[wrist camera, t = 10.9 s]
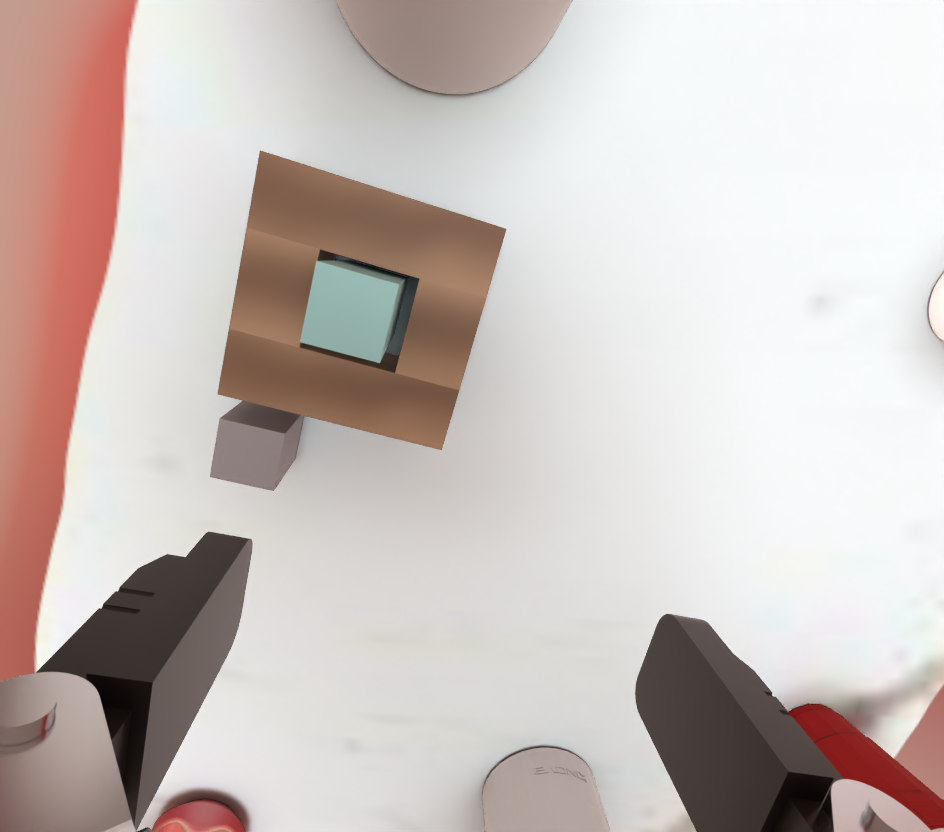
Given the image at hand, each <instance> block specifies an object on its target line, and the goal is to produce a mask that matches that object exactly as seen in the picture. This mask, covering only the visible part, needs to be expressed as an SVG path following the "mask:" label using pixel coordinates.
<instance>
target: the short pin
mask: <svg viewBox="0 0 944 832" xmlns="http://www.w3.org/2000/svg"><path fill="white" fill-rule="evenodd" d="M303 419H304V416H303V415H299V414H295V413H291V412H287V411H283V410H279V409H275V408H271V407H267V406H263V405H259V404H255V403H251V402H247V401H242V402H241V403H240V404H238V405H237V406H236V407H234V408H233V409H232V410H230V411H229V412H228V413H226V414H225V415H224V416H222V417H221V418H220V420H219V426H218V432H217V438H216V444H215V450H214V456H213V462H212V468H211V474H210V477H213V478H217V479H222V480H226V481H231V482H236V483H240V484H245V485H249V486H254V487H258V488H263V489H268V490H272V491H274V490H275V488H276V487H277V485H278V484H279V482H280V481H281V479H282V478H283V476H284V475H285V473H286V472H287V470H288V469H289V467H290V466H291V464H292V463H293V461H294V460H295V457H296V453H297V448H298V443H299V438H300V434H301V429H302V424H303Z"/></svg>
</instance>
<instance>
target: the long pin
mask: <svg viewBox="0 0 944 832" xmlns="http://www.w3.org/2000/svg"><path fill="white" fill-rule="evenodd" d="M407 280H408V277H407V276H403V275H400V274H396V273H393V272H389V271H386V270H382V269H379V268H375V267H372V266H369V265H365V264H362V263H358V262H355V261H351V260H344V261H316V265H315V270H314V275H313V280H312V285H311V290H310V295H309V300H308V305H307V310H306V315H305V320H304V324H303V329H302V334H301V339H300V342H301V343H305V344H309V345H313V346H317V347H320V348H324V349H328V350H332V351H336V352H339V353H343V354H347V355H351V356H355V357H358V358H362V359H366V360H370V361H374V362H377V363H380V362H381V360H382V358H383V356H384V353H385V351H386V349H387V347H388V345H389V343H390V341H391V339H392V337H393V335H394V332H395V328H396V324H397V320H398V316H399V312H400V308H401V304H402V300H403V296H404V292H405V288H406V284H407Z"/></svg>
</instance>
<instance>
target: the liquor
mask: <svg viewBox="0 0 944 832" xmlns="http://www.w3.org/2000/svg"><path fill="white" fill-rule="evenodd" d="M152 831H153V832H245V829H244V827H243V825H242V823H241V822H240V821H239V819H238V818H237V817H236V815H235V814H234V813H233V812H232V811H231V809H230V808H229V807H227V806H226V805H224V804H223V803H221V802H218V801H215V800H209V799H200V800H195V801H192V802H189V803H186V804H183V805H180V806H177V807H174V808H172V809H170V810H168V811H167V812H165V813H164V814H162V815H161V816H160V817H159V818H158V819H157V821H156V822H155V824H154V826H153V829H152Z"/></svg>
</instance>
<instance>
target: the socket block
mask: <svg viewBox="0 0 944 832" xmlns="http://www.w3.org/2000/svg"><path fill="white" fill-rule="evenodd" d="M505 232H506V229H505V228H502V227H498V226H495V225H492V224H489V223H486V222H483V221H480V220H476V219H473V218H470V217H467V216H464V215H461V214H458V213H454V212H451V211H448V210H445V209H442V208H439V207H436V206H433V205H429V204H426V203H423V202H420V201H417V200H414V199H411V198H407V197H404V196H401V195H398V194H395V193H392V192H389V191H385V190H382V189H379V188H376V187H373V186H370V185H367V184H363V183H360V182H357V181H354V180H351V179H348V178H345V177H342V176H338V175H335V174H332V173H329V172H326V171H323V170H320V169H316V168H313V167H310V166H307V165H304V164H301V163H298V162H294V161H291V160H288V159H285V158H282V157H279V156H276V155H273V154H269V153H266V152H263V151H260V154H259V160H258V165H257V171H256V177H255V183H254V188H253V194H252V200H251V206H250V211H249V217H248V223H247V229H246V234H245V240H244V246H243V251H242V257H241V263H240V269H239V274H238V280H237V286H236V292H235V297H234V303H233V309H232V315H231V320H230V326H229V332H228V338H227V343H226V349H225V355H224V361H223V366H222V372H221V378H220V384H219V389H218V394H219V395H223V396H227V397H231V398H235V399H239V400H243V401H247V402H251V403H255V404H259V405H263V406H267V407H271V408H275V409H279V410H283V411H287V412H291V413H295V414H299V415H303V416H307V417H311V418H315V419H319V420H323V421H327V422H331V423H335V424H339V425H343V426H347V427H351V428H355V429H359V430H363V431H367V432H371V433H375V434H379V435H383V436H387V437H391V438H395V439H400V440H404V441H408V442H412V443H416V444H420V445H424V446H428V447H432V448H436V449H440V450H442V447H443V444H444V440H445V437H446V433H447V430H448V426H449V423H450V420H451V416H452V413H453V409H454V406H455V403H456V399H457V396H458V392H459V389H460V386H461V382H462V379H463V375H464V372H465V368H466V365H467V362H468V358H469V355H470V351H471V348H472V345H473V341H474V338H475V334H476V331H477V327H478V324H479V321H480V317H481V314H482V310H483V307H484V304H485V300H486V297H487V293H488V290H489V286H490V283H491V280H492V276H493V273H494V269H495V266H496V263H497V259H498V256H499V252H500V249H501V246H502V242H503V239H504V235H505ZM336 254H338V255H341V256H345V257H348V258H351V259H355V260H358V261H361V262H365V263H368V264H372V265H375V266H378V267H382V268H385V269H388V270H392V271H395V272H399V273H402V274H405V275H409V276H412V277H415V278H419V283H418V286H417V290H416V294H415V298H414V302H413V306H412V310H411V313H410V317H409V321H408V325H407V329H406V333H405V337H404V340H403V344H402V348H401V352H400V356H396V355H392V354H389V353H384V356H383V358H382V360H381V362H380V363H377V362H374V361H370V360H366V359H362V358H358V357H355V356H351V355H347V354H343V353H339V352H336V351H332V350H328V349H324V348H320V347H317V346H313V345H309V344H305V343H301V342H300V339H301V334H302V329H303V324H304V320H305V315H306V310H307V305H308V300H309V295H310V290H311V285H312V280H313V275H314V270H315V265H316V261H335V257H336Z"/></svg>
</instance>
